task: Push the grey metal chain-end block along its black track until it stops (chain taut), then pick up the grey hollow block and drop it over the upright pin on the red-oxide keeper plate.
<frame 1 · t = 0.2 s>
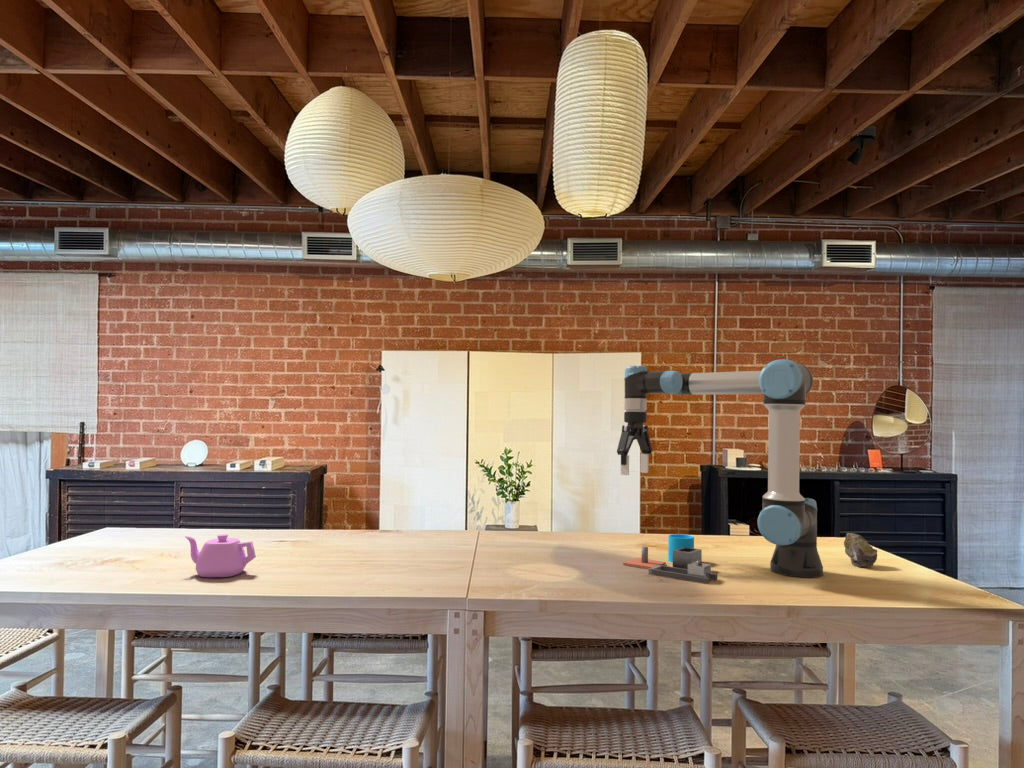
hand: (634, 473, 232), 28 cm above the table, fingers open, 13 cm apart
chain block: (699, 569, 199), point 3 cm above the table, slide at 0.0 cm
rock: (858, 566, 222), on the table
teapot: (218, 574, 195), on the table
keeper: (644, 564, 218), on the table
track: (682, 576, 202), on the table
grey hollow block: (687, 569, 212), on the table
mug: (679, 560, 226), on the table
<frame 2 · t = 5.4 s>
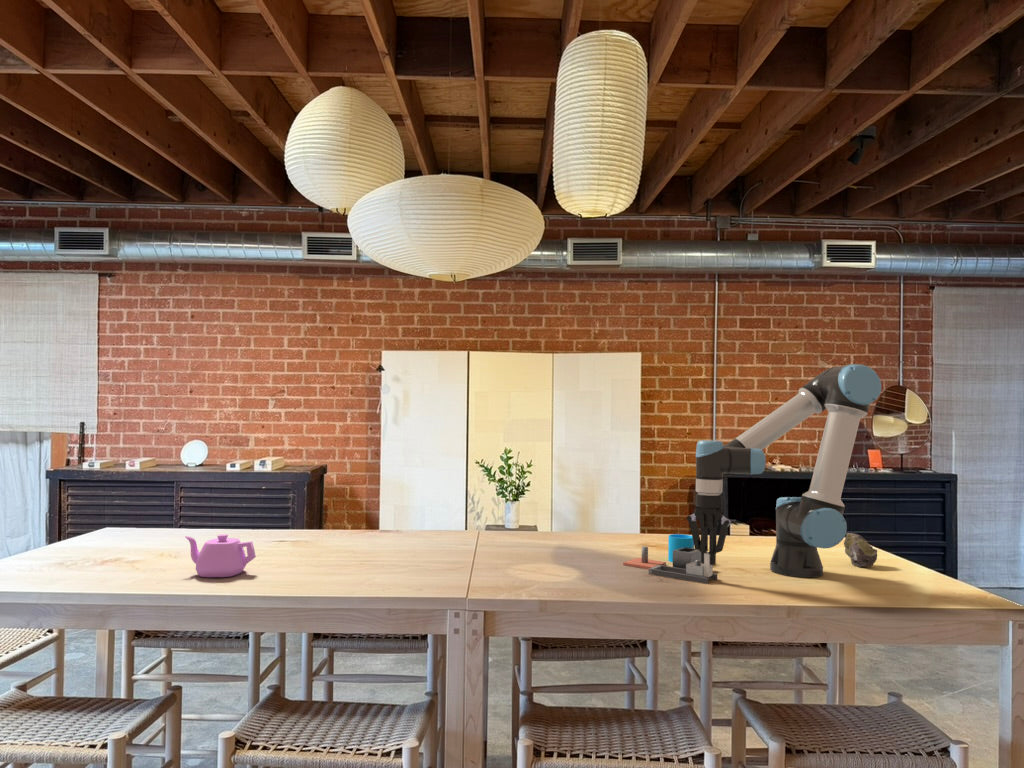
hand: (708, 575, 197), 2 cm above the table, fingers closed
chain block: (697, 569, 200), point 3 cm above the table, slide at 0.4 cm, touching gripper
everything else where it was.
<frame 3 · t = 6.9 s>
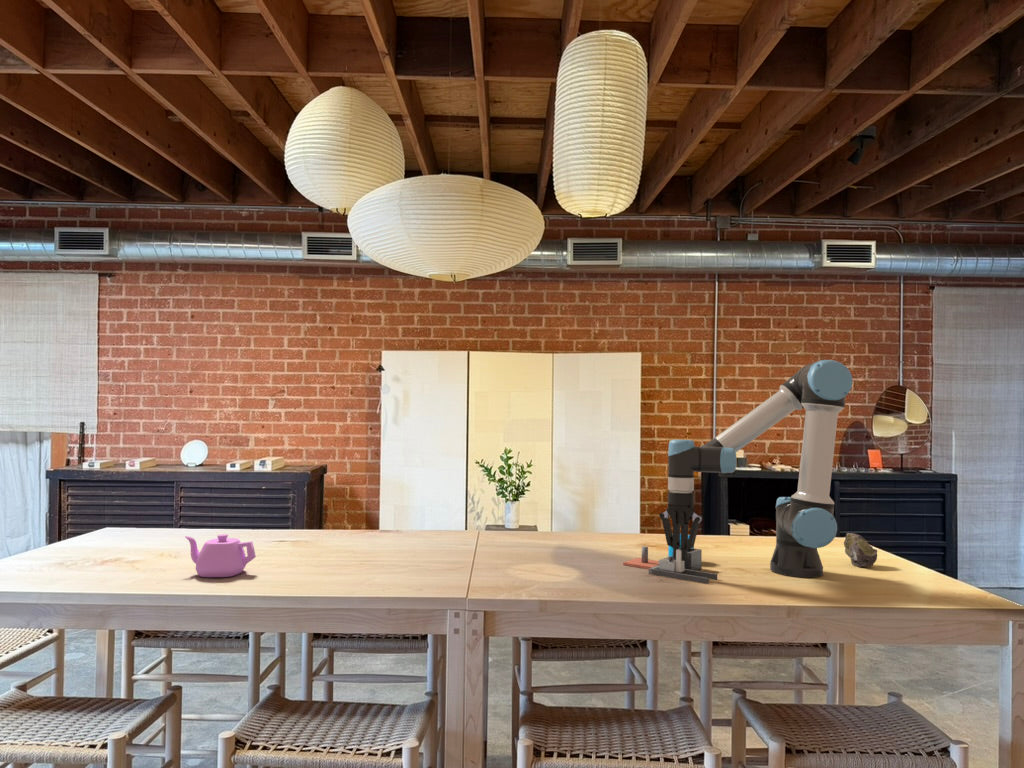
hand: (680, 571, 203), 1 cm above the table, fingers closed
chain block: (670, 565, 205), point 3 cm above the table, slide at 9.1 cm, touching gripper
everything else where it was.
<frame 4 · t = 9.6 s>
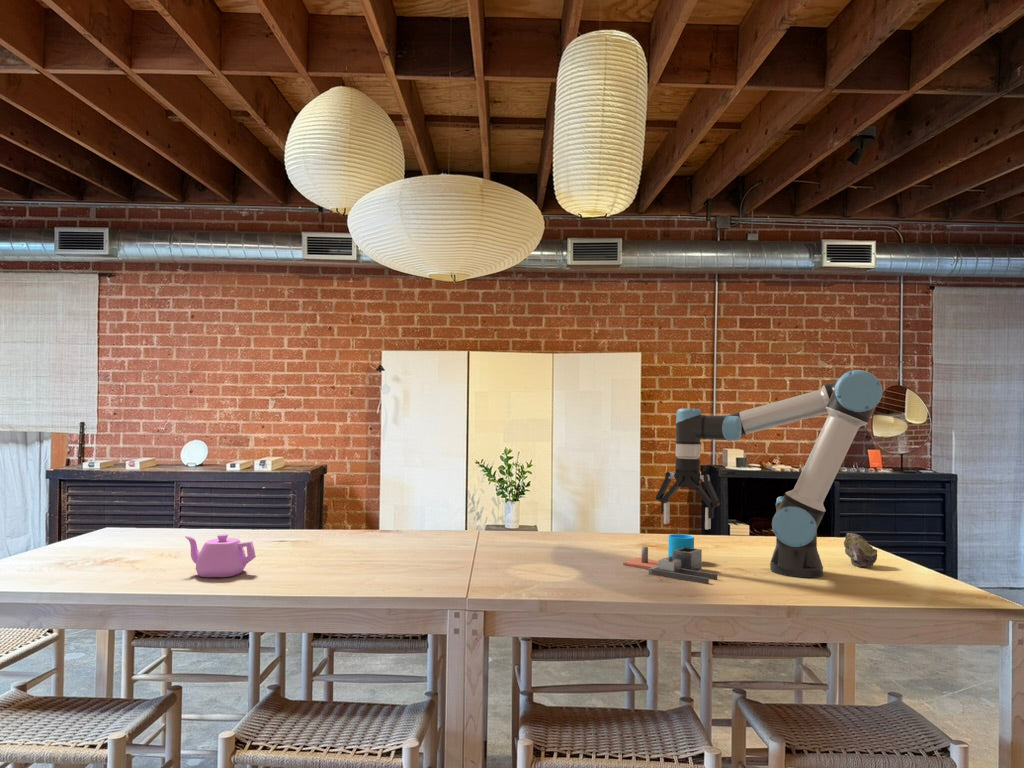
hand: (686, 526, 213), 13 cm above the table, fingers open, 13 cm apart
chain block: (669, 565, 205), point 3 cm above the table, slide at 9.2 cm
everything else where it was.
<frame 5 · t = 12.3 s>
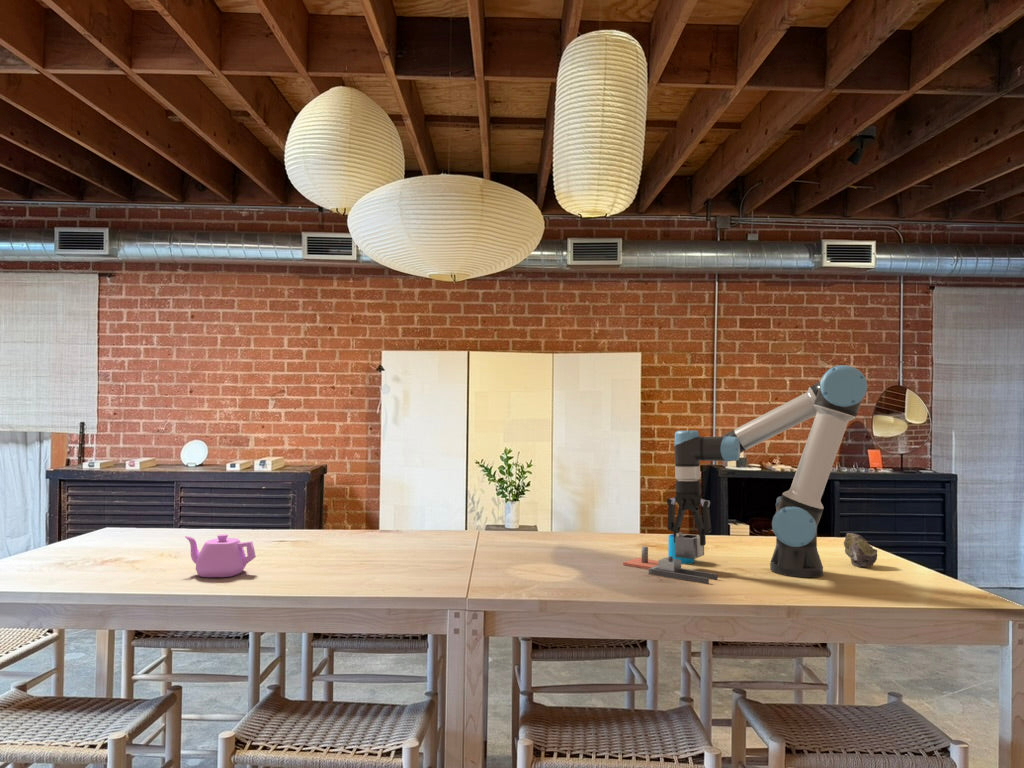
hand: (690, 554, 212), 5 cm above the table, fingers closed on grey hollow block, 6 cm apart
grey hollow block: (689, 556, 212), point 4 cm above the table, touching gripper
everything else where it was.
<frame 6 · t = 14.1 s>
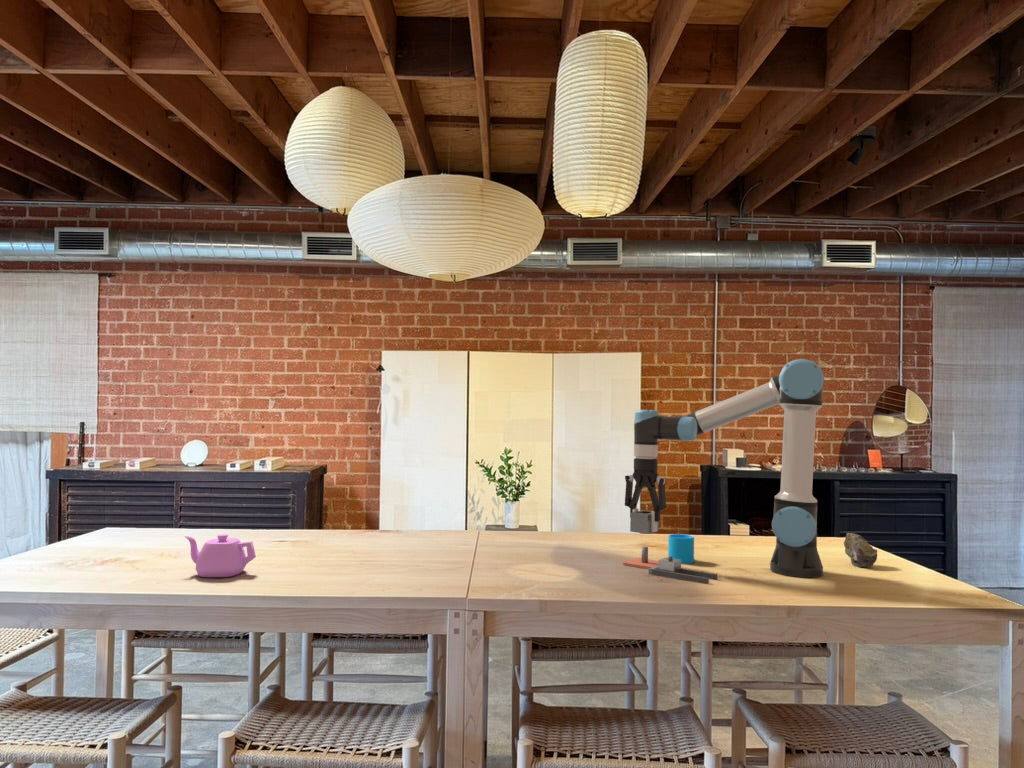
hand: (644, 530, 218), 11 cm above the table, fingers closed on grey hollow block, 6 cm apart
grey hollow block: (644, 531, 218), point 11 cm above the table, touching gripper
everything else where it was.
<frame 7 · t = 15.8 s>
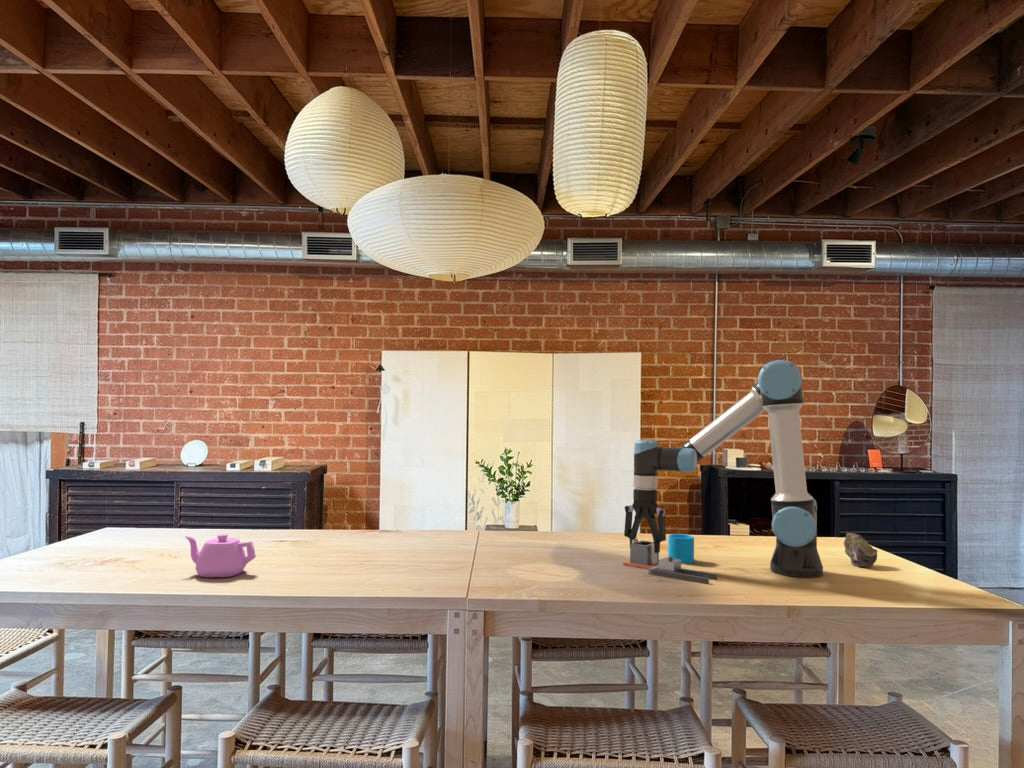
hand: (644, 561, 218), 1 cm above the table, fingers closed on grey hollow block, 6 cm apart
grey hollow block: (644, 562, 218), point 1 cm above the table, touching gripper, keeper
everything else where it was.
when the fingers open (1 cm above the table, at t = 16.1 s): grey hollow block stays where it is, resting on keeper.
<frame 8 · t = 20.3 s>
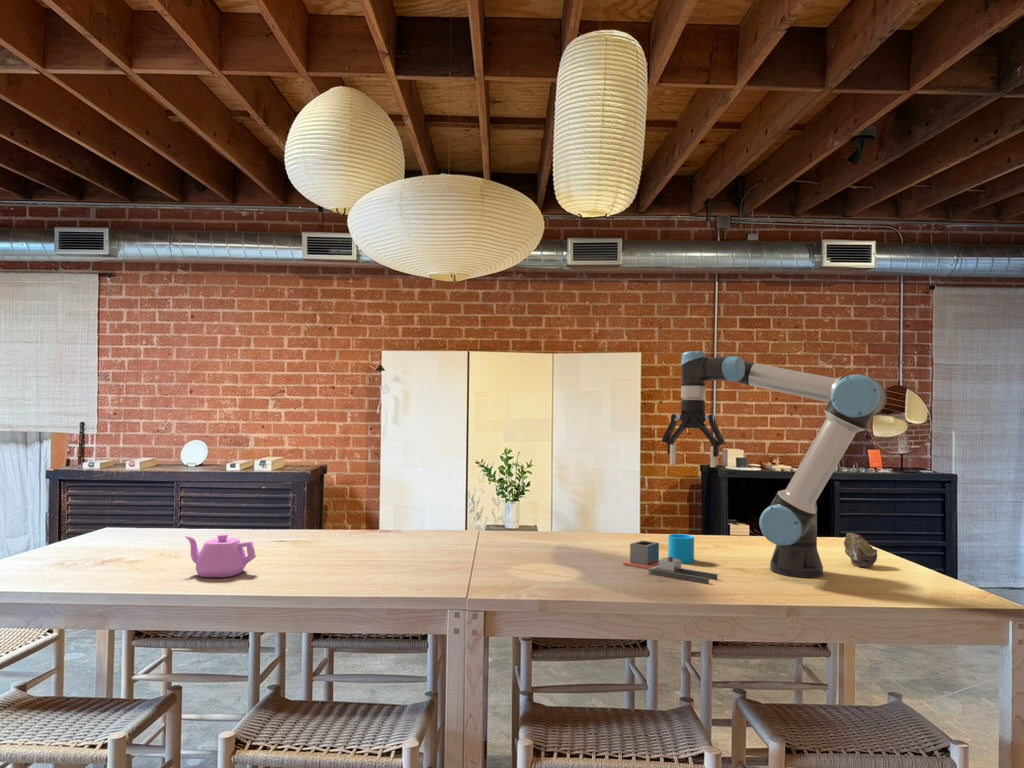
hand: (692, 465, 219), 32 cm above the table, fingers open, 13 cm apart
grey hollow block: (644, 562, 218), point 1 cm above the table, touching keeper
everything else where it was.
at the end: grey hollow block 0.1 cm off-centre on the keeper, point 0.8 cm above the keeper's base; chain block slide at 9.2 cm; the gripper is holding nothing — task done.
